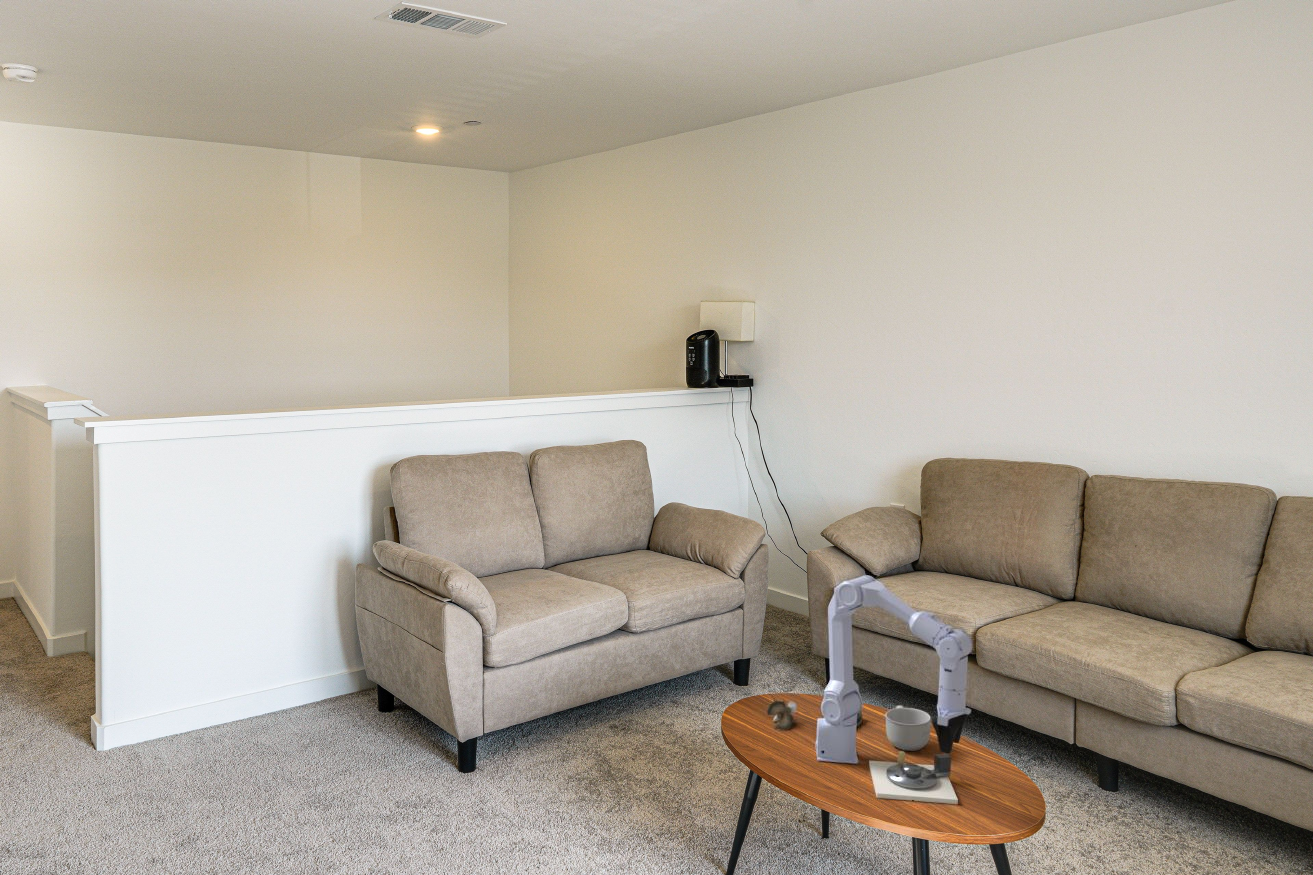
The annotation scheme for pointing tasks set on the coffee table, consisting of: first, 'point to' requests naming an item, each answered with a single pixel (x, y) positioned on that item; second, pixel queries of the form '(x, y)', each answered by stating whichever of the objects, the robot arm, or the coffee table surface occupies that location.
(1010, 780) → the coffee table surface
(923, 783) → the flange plate
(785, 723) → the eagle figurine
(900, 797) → the base plate
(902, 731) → the teacup
